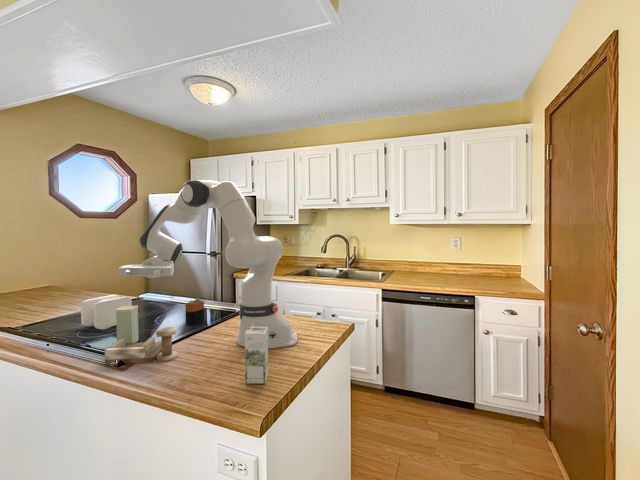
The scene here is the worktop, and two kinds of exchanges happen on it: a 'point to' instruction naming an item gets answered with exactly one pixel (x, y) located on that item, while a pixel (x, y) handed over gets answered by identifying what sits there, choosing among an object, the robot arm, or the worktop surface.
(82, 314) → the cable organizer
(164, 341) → the bobbin
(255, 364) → the syrup box
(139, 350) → the winding board
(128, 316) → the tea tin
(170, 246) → the robot arm
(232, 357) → the worktop surface
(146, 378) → the worktop surface
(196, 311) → the battery
